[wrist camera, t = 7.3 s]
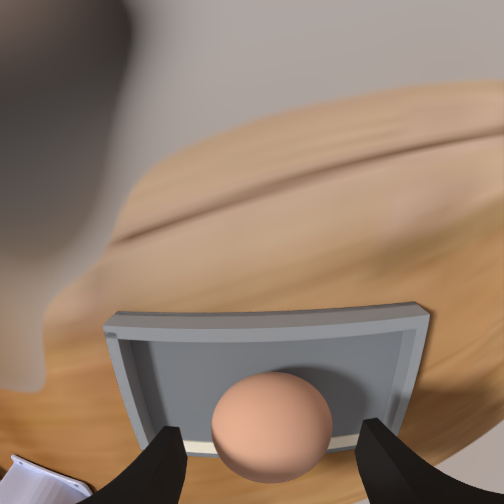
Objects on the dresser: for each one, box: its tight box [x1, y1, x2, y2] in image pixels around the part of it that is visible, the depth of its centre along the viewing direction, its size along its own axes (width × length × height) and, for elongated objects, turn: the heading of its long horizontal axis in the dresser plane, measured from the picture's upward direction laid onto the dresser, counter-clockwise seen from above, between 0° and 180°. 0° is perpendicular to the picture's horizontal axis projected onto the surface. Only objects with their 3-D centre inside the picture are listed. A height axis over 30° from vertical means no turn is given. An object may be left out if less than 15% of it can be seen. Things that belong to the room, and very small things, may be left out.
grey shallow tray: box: [103, 302, 430, 458], centre depth 13 cm, size 14×9×2 cm
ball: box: [211, 372, 332, 483], centre depth 11 cm, size 5×5×5 cm
